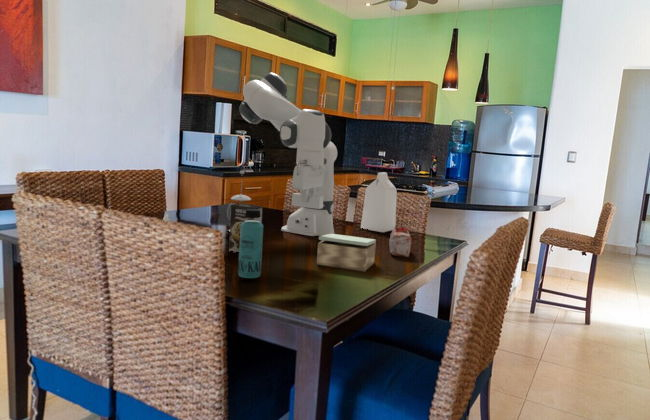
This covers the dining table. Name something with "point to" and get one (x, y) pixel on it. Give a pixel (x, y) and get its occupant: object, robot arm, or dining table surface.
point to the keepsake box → (345, 255)
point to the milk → (379, 205)
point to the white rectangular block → (313, 201)
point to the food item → (400, 242)
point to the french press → (239, 198)
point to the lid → (347, 239)
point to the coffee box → (239, 223)
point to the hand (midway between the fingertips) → (307, 201)
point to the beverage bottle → (250, 246)
